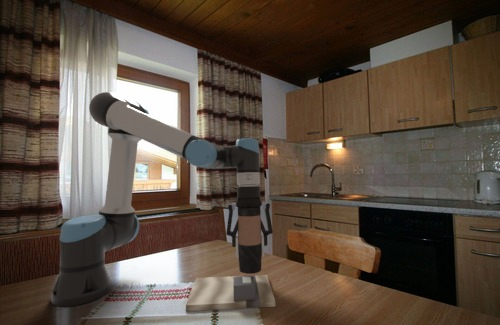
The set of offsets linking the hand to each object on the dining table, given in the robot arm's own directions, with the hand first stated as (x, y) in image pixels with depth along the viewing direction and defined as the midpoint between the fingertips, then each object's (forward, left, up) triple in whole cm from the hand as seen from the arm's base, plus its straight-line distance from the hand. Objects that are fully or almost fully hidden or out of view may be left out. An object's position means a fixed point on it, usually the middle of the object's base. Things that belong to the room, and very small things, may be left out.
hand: (250, 256), depth 81 cm
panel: (-6, -4, -10) cm, 12 cm away
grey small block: (-2, -9, -8) cm, 12 cm away
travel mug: (0, 0, -4) cm, 4 cm away
